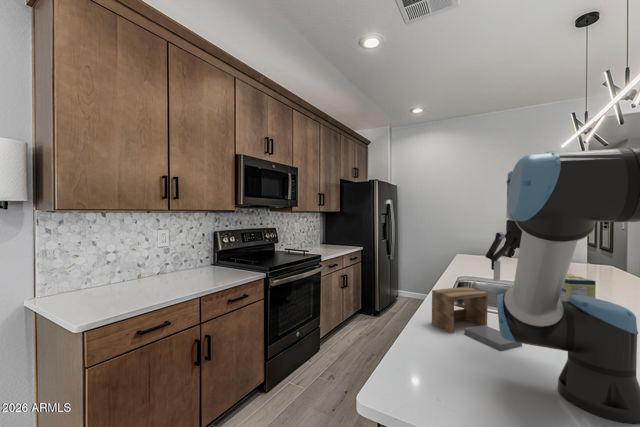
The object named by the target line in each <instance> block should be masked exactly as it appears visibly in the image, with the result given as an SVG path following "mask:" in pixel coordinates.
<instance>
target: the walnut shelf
mask: <svg viewBox="0 0 640 427" xmlns="http://www.w3.org/2000/svg"><path fill="white" fill-rule="evenodd" d="M488 296H489V294H488V292H487V291H483V290H479V289H476V288H473V287H469V286H460V287H458V286H457V287H448V288H442V289H432V290H431V325H433V326H436V327H437V328H440V329H441V330H444V331H446V332H448V333H450V334H455V332H454V331H455V329H454V328H455V327H454V326H455V322H459V321H464V320H466V321H469V322H471V323H474V324H476V325H478V326H481V325H486V326H488V305H489V304H488V302H489V300H488V298H489V297H488ZM455 300H456V301H457V300H463V308H460V309H455Z"/></svg>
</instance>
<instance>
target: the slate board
mask: <svg viewBox="0 0 640 427" xmlns="http://www.w3.org/2000/svg"><path fill="white" fill-rule="evenodd" d="M463 332H464V335H466V336H468V337H470V338H472V339H474V340H475V341H478V342H480V343H482V344H485V345H486V346H489V347H492V348H494V349H495V350H498V351H500V352H503V351H507V350H511V349H512V350H513V349H516V348H519V347H522V346H523V344H522V343H516V342H513V341H509V340H506V339H504V338H503V337H502V336H501V334H500V330H498V329H495V328H493V327H491V326H488V325H487V326H486V325H477V326H472V327H466V328H464V331H463Z"/></svg>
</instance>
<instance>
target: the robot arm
mask: <svg viewBox="0 0 640 427" xmlns="http://www.w3.org/2000/svg"><path fill="white" fill-rule="evenodd" d="M506 197H507V198H506V214H505V216H506V219H507V220H506V222H505V231H506V232H505V233H504V232H501V231H500V232H496V233H495V235H494V236H495V237H494V240H493V242H492V244H491V245H490V247H489V249H488V251H487V252H486V255H485V258H486V259H489V260H490V262H491V263H490V264H491V267H490V268H491V270H492V271H493V281H495V282H496V281H500V280H501V260H499V259H501V257H502V256H504V254H505V253H506V252H508V250H510V249H511V248H512V249H518V256H517V263H516V269H515V275H514V281H513V285H512V286H511V287H509V288H508V289H507V290H506V292H504V293H498V294H497V295H496V305H497V308H496V310H497V318H498V319H497V320H498V329H499V331H500V334H501V336H502V337H503V338H504V339H506V340H509V341H513V342H516V343H522V345H530V346H536V347H541V348H547V349H553V350H558V351H565V352H567V358H566V362H565V363H564V365H563V368H562V370H561V372H560V374H559V376H558V378H557V379H558V380H557V390H558V392H559V393H560V395H561V396H562V397H563V398H565V399H566V400H567V401H568V402H570V403H571V404H573V405H575V406H576V407H579V408H580V409H582V410H583V411H586V412H588V413H590V414H594V415H595V416H599V417H602V418H605V419H608V420H612V421H617V422H621V423H627V424H640V384H639V380H638V379H637V364H638V363H637V361H638V360H637V359H638V358H637V357H638V352H637V349H638V335H639V331H638V324H637V316H636V315H635V312H633V311H631V310H630V309H628V308H626V307H624V306H622V305H619V304H617V303H614V302H611V301H607V300H603V299H599V298H597V297H595V298H591V297H586V296H580V295H570V296H569V297H568V298H567V300H568V301H561V300H560V299H559V297H560V294H561V291H562V288H563V285H564V282H565V278H566V275H567V274H568V273H569V272H568V271H569V268H570V267H571V266H570V265H571V263H572V260H573V256H574V252H575V251H576V247H577V244H578V242H579V241H580V240H584V239H585V238H587V237H589V236H590V235H591V233H593V231H594V229H595V226H596V223H638V222H640V146H629V147H619V148H605V149H604V148H603V149H589V150H588V149H587V150H577V151H575V150H574V151H573V150H572V151H562V152H561V151H560V152H556V151H551V150H549V151H545V152H544V153H543V152H542V153H535V154H534V153H533V154H528V155H525V156H523V157H522V158H519V159H518V161H517V162H516V164H515V165H514V166H513V170H512V171H509V172H508V173H507V180H506ZM504 239H505V240H506V241H507V242H505V243H504V244H503V246H502V247H501V248H500V249H499V250H498V251H497V249H498V248H499V246H500V245H501V243H502V241H503V240H504Z"/></svg>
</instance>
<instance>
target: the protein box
mask: <svg viewBox="0 0 640 427" xmlns="http://www.w3.org/2000/svg"><path fill="white" fill-rule="evenodd" d="M570 295H580V296H586V297H591V298H596V280H593V279H590V278H585V277H582V276H579V275H575V274H572V273H567V275H566V278H565V282H564V285H563V288H562V291H561V294H560V297H559V299H560V300H561V301H568V300H567V298H568V297H569V296H570Z"/></svg>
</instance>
